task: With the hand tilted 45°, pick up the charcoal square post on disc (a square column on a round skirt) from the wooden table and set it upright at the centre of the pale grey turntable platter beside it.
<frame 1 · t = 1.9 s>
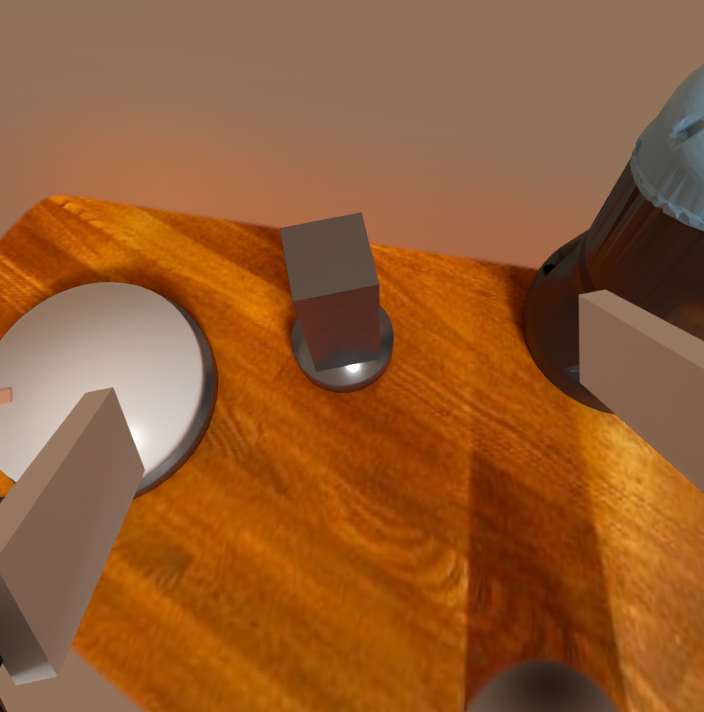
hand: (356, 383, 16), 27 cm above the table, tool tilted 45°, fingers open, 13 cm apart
square post on disc: (343, 346, 46), on the table
turntable platter: (92, 383, 43), point 3 cm above the table, hinge at 0.0°
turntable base: (108, 393, 45), on the table
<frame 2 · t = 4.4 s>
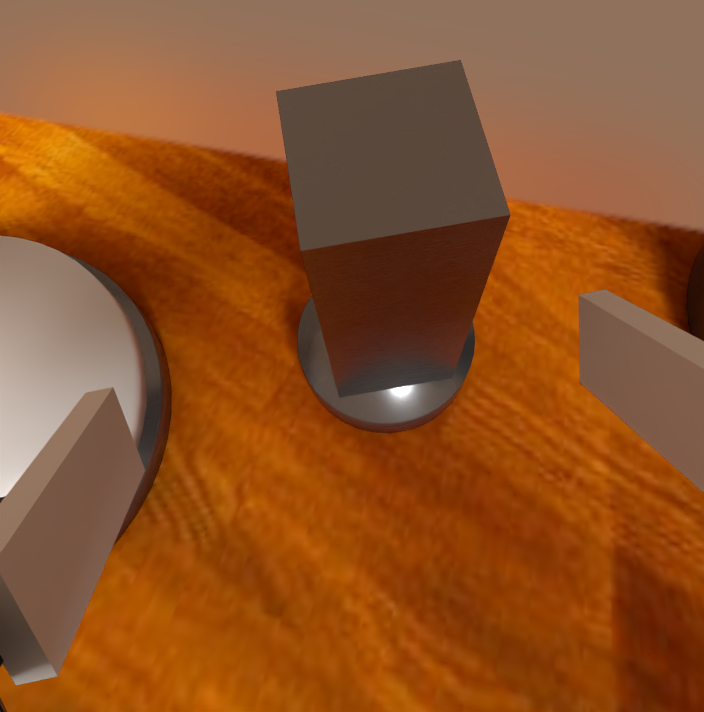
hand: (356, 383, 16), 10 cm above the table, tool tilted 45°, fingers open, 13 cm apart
square post on disc: (385, 352, 27), on the table
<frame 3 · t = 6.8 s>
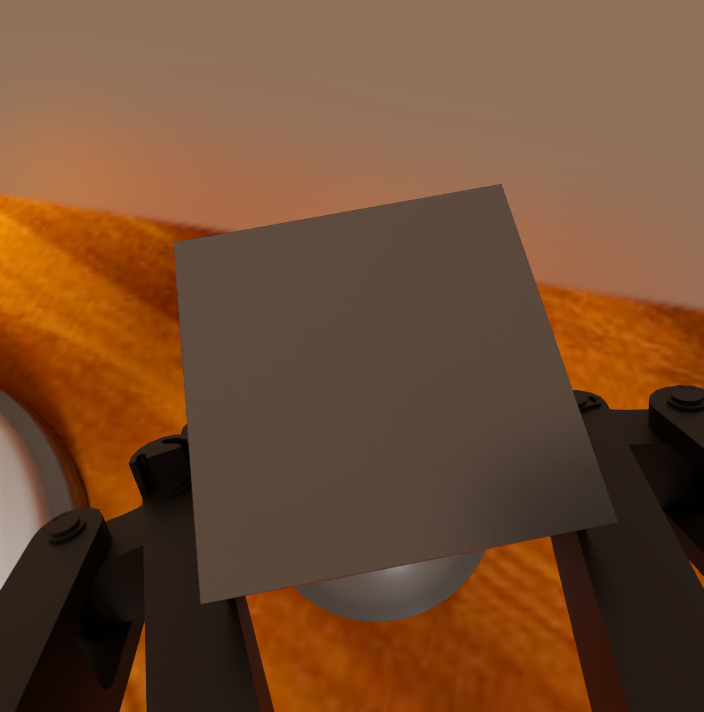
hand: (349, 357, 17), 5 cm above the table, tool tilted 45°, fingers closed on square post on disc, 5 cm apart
square post on disc: (374, 497, 20), on the table, touching gripper
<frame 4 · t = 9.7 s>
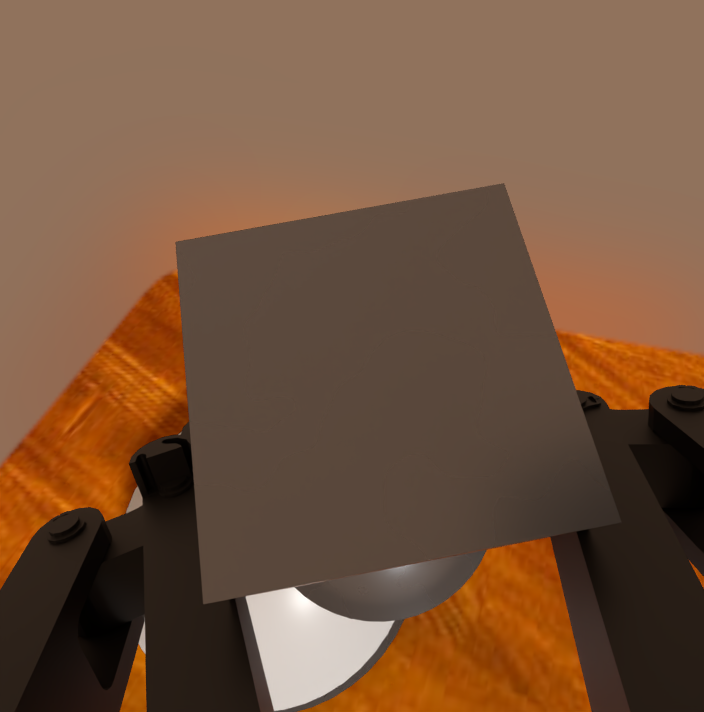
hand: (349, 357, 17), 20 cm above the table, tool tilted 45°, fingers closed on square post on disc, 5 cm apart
square post on disc: (375, 497, 20), point 15 cm above the table, touching gripper
turntable platter: (265, 540, 32), point 3 cm above the table, hinge at 0.0°
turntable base: (274, 542, 35), on the table
when the fingers open (9 cm above the table, at t = 12.8 s): square post on disc stays where it is, resting on turntable platter.
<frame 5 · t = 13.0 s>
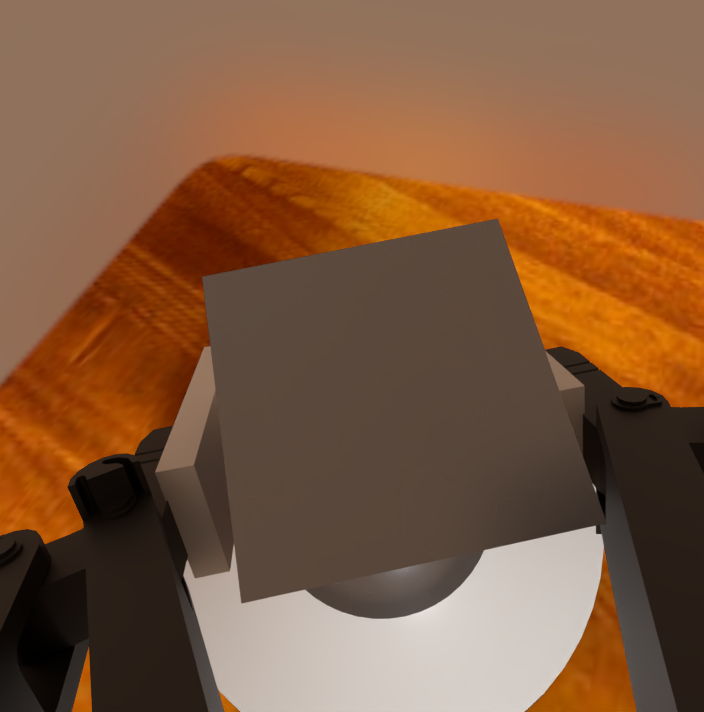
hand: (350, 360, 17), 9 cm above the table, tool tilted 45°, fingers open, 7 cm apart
square post on disc: (378, 499, 21), point 3 cm above the table, touching turntable platter
turntable platter: (376, 501, 22), point 3 cm above the table, hinge at 0.0°, touching square post on disc
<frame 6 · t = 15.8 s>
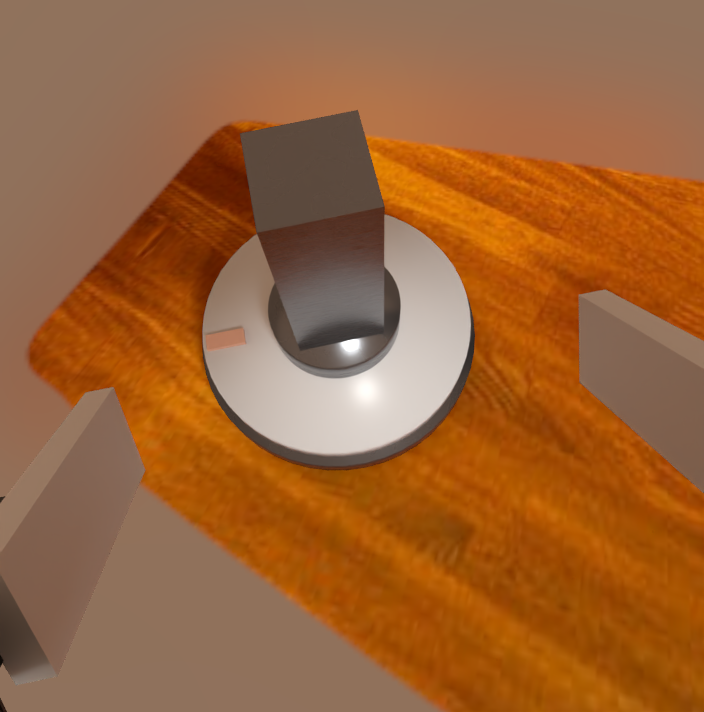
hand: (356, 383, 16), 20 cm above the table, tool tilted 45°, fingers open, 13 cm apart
square post on disc: (336, 318, 35), point 3 cm above the table, touching turntable platter
turntable platter: (335, 322, 36), point 3 cm above the table, hinge at 0.0°, touching square post on disc
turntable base: (338, 338, 38), on the table
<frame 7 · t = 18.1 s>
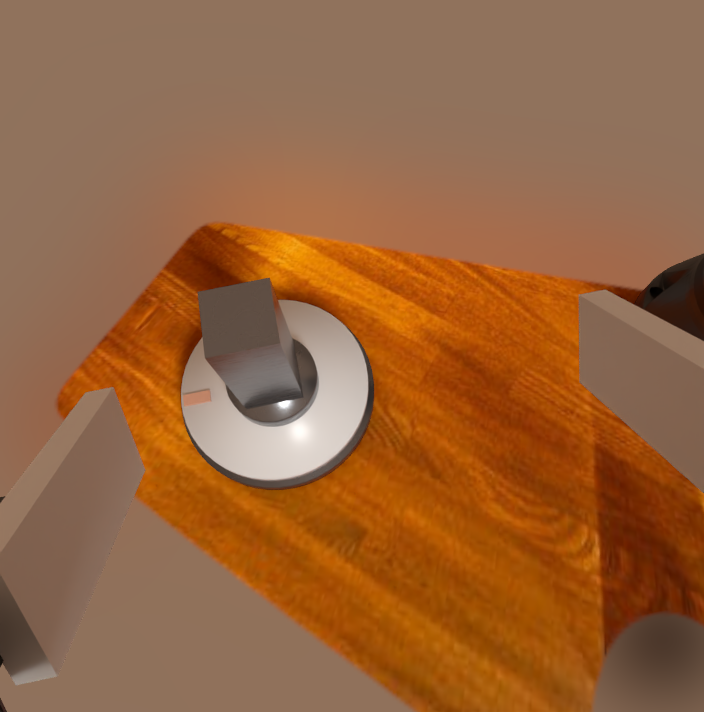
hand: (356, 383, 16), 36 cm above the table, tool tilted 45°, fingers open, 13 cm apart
square post on disc: (274, 383, 50), point 3 cm above the table, touching turntable platter
turntable platter: (275, 385, 51), point 3 cm above the table, hinge at 0.0°, touching square post on disc
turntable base: (280, 394, 53), on the table
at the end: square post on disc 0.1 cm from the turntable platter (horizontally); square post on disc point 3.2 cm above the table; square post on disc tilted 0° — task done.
